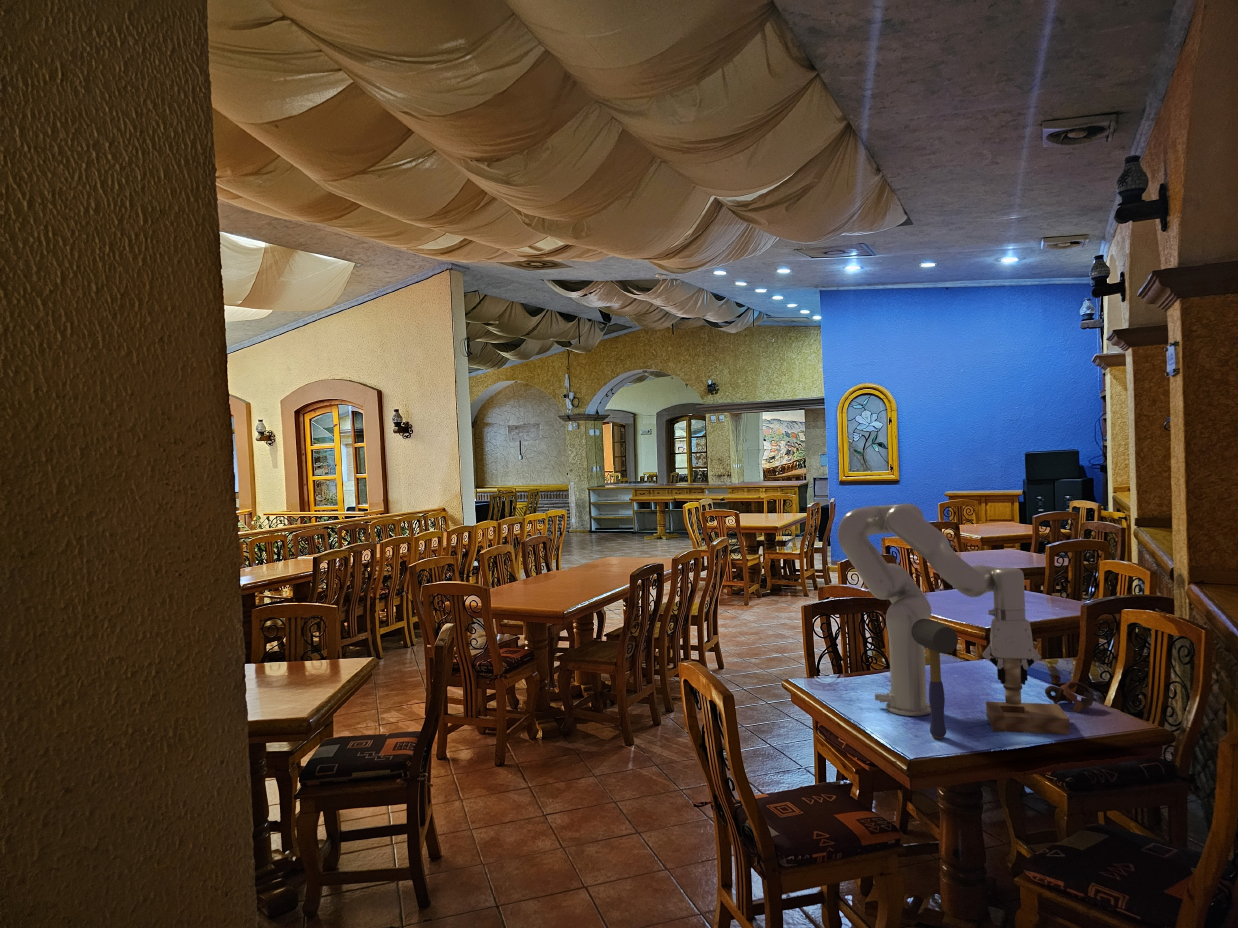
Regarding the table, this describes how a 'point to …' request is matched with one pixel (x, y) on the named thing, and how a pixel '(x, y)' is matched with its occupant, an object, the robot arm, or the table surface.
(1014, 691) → the peg
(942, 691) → the rubber mallet
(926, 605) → the robot arm
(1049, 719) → the board
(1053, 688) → the dark looped piece
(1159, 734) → the table surface
